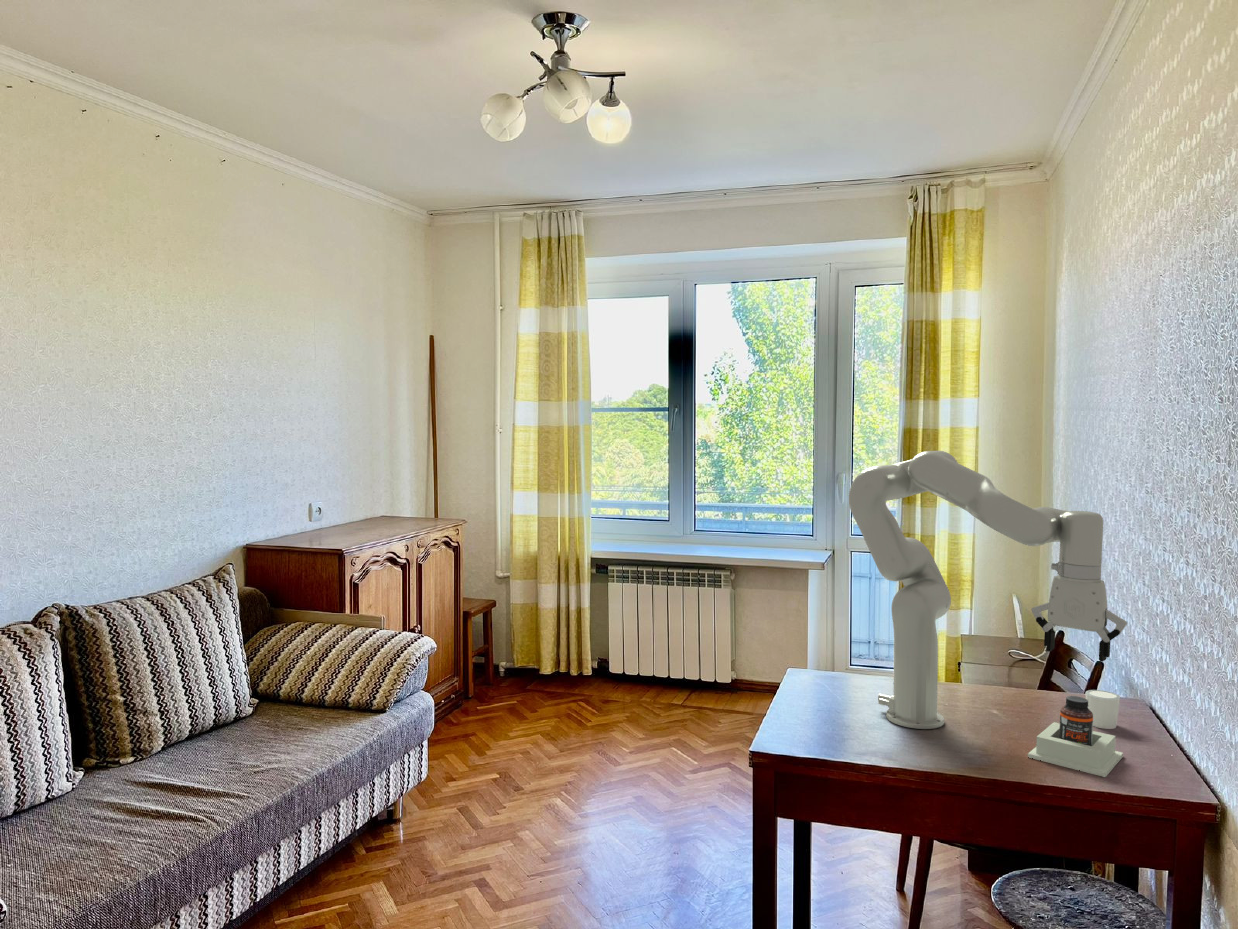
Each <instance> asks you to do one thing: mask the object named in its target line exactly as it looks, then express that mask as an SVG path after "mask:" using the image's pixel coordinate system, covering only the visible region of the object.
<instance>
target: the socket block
mask: <svg viewBox="0 0 1238 929" xmlns="http://www.w3.org/2000/svg"><path fill="white" fill-rule="evenodd" d="M1059 729H1060V722H1052V723H1051V724H1049V725H1048V726H1047V727H1046V728H1045V729H1044V730H1042V732H1040V733H1039V734H1038V735H1036V744H1035V747H1034V748H1033V749H1032V750H1030V751H1029V752H1028V753H1027V758H1028V757H1029V759H1032V758H1033V759H1032V760H1036V761H1040V760H1041V761H1040V762H1045V763H1048V764H1053V765H1057V766H1060V767H1064V768H1069V769H1070V770H1076V771H1079V770H1080V772H1083V773H1087V774H1090V775H1095V776H1100V777H1103V778H1106V777H1107V776H1109V773H1111V772H1112V770H1113V769H1114V768H1115V766H1117V764H1118V763H1119V762H1120V761H1121V760H1122V759H1123V758H1124V752H1122V751H1118V750H1116V735H1113V734H1108V733H1103V732H1099V731H1094V730H1093V733H1092V746H1088V745H1084V744H1080V743H1075V742H1071V741H1067V740H1063V739H1059Z"/></svg>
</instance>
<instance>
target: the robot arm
mask: <svg viewBox="0 0 1238 929" xmlns="http://www.w3.org/2000/svg"><path fill="white" fill-rule="evenodd" d="M926 492H929V493H931V494H933V495H935V496H937V497H939V498H940V499H942V500H945V501H947V502H949V503H951V504H953V505H954V506H957V507H959V508H960V509H962V510H964V511H966V512H967V513H969V514H970V515H971V516H972V517H973V518H975V519H977V520H978V521H979V522H982V523H983V524H984V525H986V526H987V527H989V528H991V529H992V530H994V531H996V532H998V533H1000V534H1001V535H1004V536H1006V537H1007V538H1009V539H1011V540H1014V541H1015V542H1018V543H1019V544H1022V545H1025V546H1028V547H1039V546H1044V545H1046V544H1049V543H1059V556H1058V557H1059V558H1058V562H1056V563H1055V562H1053V563H1052V562H1051V565H1050V567H1051V570H1052V571H1055V572H1057V575H1055V576H1053V578H1052V583H1051V586H1050V593H1049V599H1048V602H1046V603H1043V604H1040V605H1036V606H1034V607H1032V608H1031V613H1032V614H1033V618H1035V621H1036V623H1037V624H1038V625H1039V626H1040V627H1041V629H1042V631H1043V632H1044V638H1043V639H1044V640H1043V646H1044V647H1045V648H1046V649H1045V650H1046V652H1048V653H1049V652H1052V651H1053V650H1055V645H1056V631H1055V630H1054V628H1055V627H1062V628H1068V629H1074V630H1079V631H1085V632H1094V633H1095V632H1096V633H1097V634H1098V636H1099V637H1100V639H1101V641H1099V644H1098V645H1099V646H1098V648H1099V649H1098V661H1099V662H1104V661H1106V660H1107V659H1108V658H1110V655H1111V641H1112V640H1113V639H1115V638H1116V637H1118V636H1119V635H1121V634H1122V632H1123V631H1124V629H1125V628H1126V627H1127V625H1128V622H1127V620H1125V619H1123V618H1122V617H1120V616H1118V615H1117V614H1116V613H1113V612H1112V611H1110V610H1108V597H1107V589H1106V583H1105V580H1102V565H1103V564H1102V561H1103V560H1102V558H1103V538H1104V536H1103V535H1104V518H1103V516H1102V514H1100V513H1098V512H1093V511H1086V510H1085V511H1084V510H1063V509H1060V508H1059V509H1058V508H1054V507H1049V506H1038V507H1035V508H1032V507H1030V506H1029V505H1025V504H1024V503H1022V502H1019V501H1017V500H1016V499H1013V498H1011V497H1009V496H1008V495H1006V494H1004V493H1003V492H1001V491H1000V490H998V488H997V487H996V486H995V485H994V483H993V482H992V480H991V479H990V478H989V477H987V476H986V475H984V474H981V473H979V472H978V471H975V470H973V469H971V468H968V467H966V466H964V465H962V464H960V463H959V462H958V461H957V459H956V458H955V457H954V456H953V455H952V454H951V453H949V452H946V451H944V450H925V451H922V452H920V453H918V454H915V456H914V457H913V458H911V459H909V460H905V461H901V462H897V463H893V464H883V465H881V464H880V465H874V466H869V467H867V468H865V469H864V470H861V472H859V474H857V475H856V477H855V478H854V479H853V482H852V483H851V485H850V488H849V493H848V503H849V504H848V505H849V508H850V511H851V514H852V517H853V519H854V521H855V523H856V524H857V526H858V529H859V531H860V533H861V534H862V537H863V539H864V542H865V544H866V546H867V548H868V550H869V552H870V555H871V557H872V559H873V561H874V563H875V566H876V568H877V570H878V571H879V573H880V575H881V576H882V577H883V578H884V579H886V580H887V581H890V582H902V584H903V587H902V588H900V589H899V590H898V591H897V592H896V593H895V595H894V596H893V598H892V603H891V617H892V618H891V619H892V625H893V695H891V696H890V695H889V694H886V693H885V694H884V693H879V694H878V696H877V701H878V705H882V706H887V707H888V709H887V710H886V711H885V713H886V714H885V717H886V719H887V720H888V721H889V722H891V723H892V724H895V725H897V726H901V727H905V728H910V729H915V730H932V729H937V728H941V727H942V726H944V724H945V717H944V716H943V715H942V714H941V713H940V712H938V682H939V680H938V676H939V675H938V673H939V672H938V671H939V641H938V640H939V639H938V633H937V631H938V630H937V626H936V621H937V619H938V620H939V618H942V617H943V616H944V615H946V614H947V612H949V610H950V607H951V605H952V597H951V593H950V590H949V588H948V585H947V583H946V581H945V579H944V577H943V575H942V573H941V571H940V569H939V567H938V565H937V562H936V561H935V559H934V557H933V556H932V554H931V551H930V550H929V548H927V546H926V545H925V543H923V542H921V541H920V540H919V539H917V538H913V537H908V536H907V537H905V535H904V533H903V532H902V530H901V527H900V526H899V523H898V521H897V519H896V517H895V515H893V513H892V511H890V510H889V507H888V506H887V504H886V503H887V502H888V501H894V500H900V499H903V498H908V497H911V496H914V495H918V494H922V493H926ZM1046 610H1047V619H1046V618H1045V617H1044V616H1043V614H1042V612H1044V611H1046ZM1108 620H1109V621H1110V622H1112V623H1114V624H1115V628H1114V629H1113V630H1112V631H1110V630H1109V629H1108V628H1107V626H1108Z"/></svg>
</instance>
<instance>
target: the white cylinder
mask: <svg viewBox="0 0 1238 929" xmlns="http://www.w3.org/2000/svg"><path fill="white" fill-rule="evenodd" d="M1084 695H1085V699H1087V700H1088V709H1089V710H1090V711H1091V712H1092V713H1093V727H1096V728H1100V729H1107V730H1112V729H1116V728H1117V724H1118V723H1117V722H1118V718H1119V717H1118V716H1119V709H1120V702H1121V696H1120V695H1119V694H1117V693H1114V692H1111V691H1108V690H1107V691H1106V690H1099V689H1088V690H1086V691H1085V694H1084Z"/></svg>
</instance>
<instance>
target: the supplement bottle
mask: <svg viewBox="0 0 1238 929" xmlns="http://www.w3.org/2000/svg"><path fill="white" fill-rule="evenodd" d="M1065 698H1066V699H1065V705H1063V706H1062V707H1061V708H1060V712H1059V723H1060V729H1059V739H1063V740H1067V741H1071V742H1075V743H1080V744H1084V745H1088V746H1092V733H1093V731H1094V730H1093V729H1094V728H1093V727H1094V726H1093V713H1092V712H1091V711H1090V710H1089V709H1088V700H1087V699H1086V697H1081V696H1077V695H1069V696H1066V697H1065Z"/></svg>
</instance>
